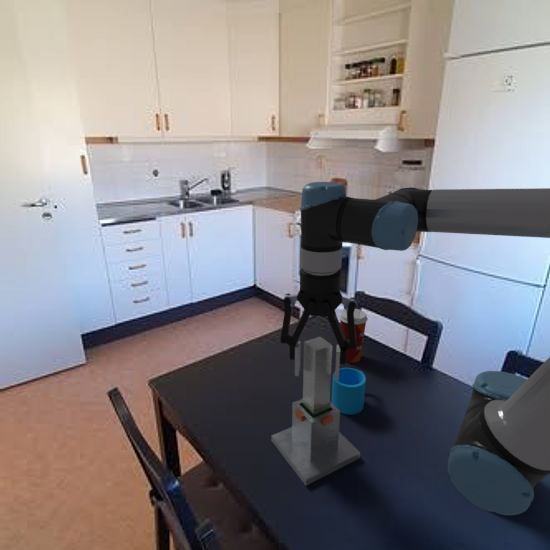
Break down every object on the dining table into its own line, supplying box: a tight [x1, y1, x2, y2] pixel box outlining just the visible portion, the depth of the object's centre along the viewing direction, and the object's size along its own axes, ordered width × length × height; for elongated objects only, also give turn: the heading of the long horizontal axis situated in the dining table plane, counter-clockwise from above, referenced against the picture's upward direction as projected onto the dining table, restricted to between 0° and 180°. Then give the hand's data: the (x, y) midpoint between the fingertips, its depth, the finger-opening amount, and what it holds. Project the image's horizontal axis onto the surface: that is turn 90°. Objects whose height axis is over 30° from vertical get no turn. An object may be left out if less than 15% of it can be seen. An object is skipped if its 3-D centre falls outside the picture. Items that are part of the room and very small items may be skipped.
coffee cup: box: [339, 308, 368, 364], centre depth 120 cm, size 8×8×15 cm
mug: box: [331, 367, 367, 416], centre depth 103 cm, size 12×8×8 cm
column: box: [301, 336, 333, 418], centre depth 82 cm, size 4×4×19 cm
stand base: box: [270, 398, 361, 487], centre depth 86 cm, size 14×14×12 cm
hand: (317, 374), depth 82 cm, fingers open, 7 cm apart
